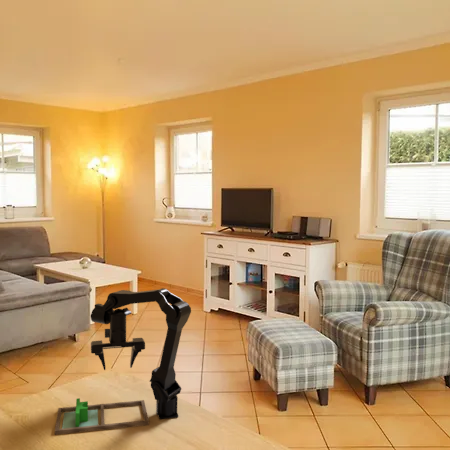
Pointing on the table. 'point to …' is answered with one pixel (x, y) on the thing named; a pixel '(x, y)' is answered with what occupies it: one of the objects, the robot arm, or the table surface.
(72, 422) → the sorting frame
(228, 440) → the table surface
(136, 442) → the table surface
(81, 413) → the pipe clamp
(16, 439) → the table surface
